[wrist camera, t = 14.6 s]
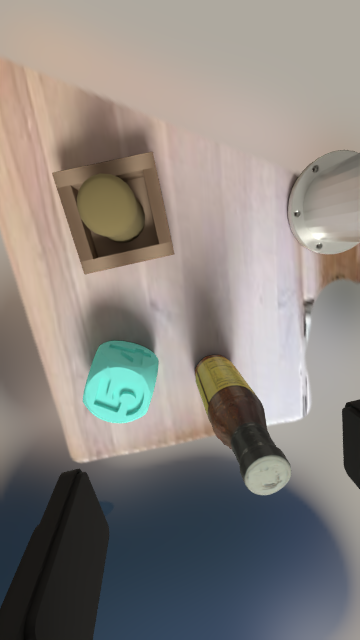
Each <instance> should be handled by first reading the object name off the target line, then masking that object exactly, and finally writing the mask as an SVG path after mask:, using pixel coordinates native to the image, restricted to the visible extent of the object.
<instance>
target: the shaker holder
mask: <svg viewBox="0 0 360 640" xmlns="http://www.w3.org/2000/svg"><path fill="white" fill-rule="evenodd" d="M52 174H53V178H54V181H55V184H56V187H57V190H58V193H59V196H60V199H61V202H62V206H63V209H64V212H65V215H66V218H67V221H68V224H69V227H70V231H71V234H72V237H73V240H74V243H75V246H76V249H77V252H78V255H79V259H80V262H81V265H82V268H83V271H84V274H89V273H93V272H98V271H102V270H107V269H111V268H115V267H120V266H124V265H129V264H133V263H138V262H142V261H147V260H151V259H156V258H160V257H165V256H169V255H173V254H174V250H173V245H172V241H171V236H170V231H169V226H168V222H167V217H166V212H165V208H164V203H163V198H162V194H161V189H160V184H159V179H158V175H157V170H156V165H155V161H154V156H153V152H148V153H144V154H139V155H134V156H129V157H125V158H120V159H115V160H111V161H106V162H101V163H96V164H92V165H87V166H82V167H78V168H73V169H68V170H63V171H59V172H54V173H52ZM97 174H112V175H114V176H116V177H119V178H121V179H122V180H123V181H124V182H125V183H127V184H128V186H129V187H130V189H131V190H132V192H133V193H134V197H135V198H136V199H137V200H138V201H139V202H140V204H141V205H142V207H143V210H144V213H145V225H144V228H143V231H142V232H141V234H140V235H139V236H138V237H137V238H136V239H134V240H133V241H130V242H127V243H117V242H115V241H112V240H110V239H109V238H107V237H106V236H102V235H99V234H96V233H94V232H93V231H92V230H90V229H89V228H88V227H87V226H86V225H85V223H84V222H83V221H82V219H81V217H80V214H79V212H78V209H77V195H78V191H79V189H80V187H81V185H82V184H83V182H84V181H85V180H87V179H88V178H89V177H91V176H93V175H97Z"/></svg>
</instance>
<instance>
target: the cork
mask: <svg viewBox="0 0 360 640" xmlns="http://www.w3.org/2000/svg"><path fill="white" fill-rule="evenodd" d="M77 209H78V212H79V214H80V217H81V219H82V221H83V222H84V223H85V225H86V226H87V227H88V228H89V229H90V230H92V231H93V232H94V233H96V234H99V235H102V236H106V237H107V238H109V239H110V240H112V241H115V242H117V243H127V242H130V241H133V240H134V239H136V238H137V237H138V236H139V235H140V234H141V232H142V231H143V228H144V225H145V213H144V210H143V207H142V205H141V204H140V202H139V201H138V200H137V199H136V198H135V197H134V193H133V192H132V190H131V189H130V187H129V186H128V184H127V183H125V182H124V181H123V180H122V179H121V178H119V177H116V176H114V175H112V174H97V175H93V176H91V177H89V178H88V179H87V180H85V181H84V182H83V184H82V185H81V187H80V189H79V191H78V195H77Z"/></svg>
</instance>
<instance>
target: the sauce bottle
mask: <svg viewBox="0 0 360 640" xmlns="http://www.w3.org/2000/svg"><path fill="white" fill-rule="evenodd" d="M195 376H196V384H197V386H198V389H199V392H200V395H201V398H202V401H203V404H204V407H205V410H206V413H207V415H208V418H209V421H210V423H211V424H212V427H213V430H214V433H215V434H216V436H217V437H218V438H219V439H220V440H221V441H222V442H223V444H224V445H227V446H229V448H230V449H232V450H233V452H234V454H235V456H236V458H237V460H238V462H239V465H240V473H241V475H242V478H243V481H244V482H245V484H246V486H247V488H248V489H249V490H250V491H252V492H253V493H256V494H259V495H269V494H272V493H274V492H277V491H278V490H280V489H281V488H282V487H284V486H285V485H286V484H287V482H288V481H289V479H290V476H291V468H290V464H289V462H288V460H287V459H286V457H285V455H284V454H283V452H282V451H281V450H280V449H279V448H277V447H276V445H275V444H274V442H273V441H272V439H271V438H270V435H269V433H268V431H267V426H266V419H265V413H264V408H263V406H262V403H261V402H260V400H259V399H258V397H257V396H256V395H255V393H254V392H253V391H252V389H251V388H250V387H249V385H248V384H247V383H246V381H245V380H244V378H243V377H242V376H241V374H240V373H239V372H238V370H237V369H236V368H235V366H234V365H233V364H232V362H230V361H229V360H228V359H226V358H225V357H223V356H221V355H210V356H206V357H204V358H203V359H202V360H201V361H200V363H199V364H198V366H197V367H196V370H195Z"/></svg>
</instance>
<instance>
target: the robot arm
mask: <svg viewBox="0 0 360 640" xmlns="http://www.w3.org/2000/svg"><path fill="white" fill-rule="evenodd" d="M312 170H313V171H312ZM294 213H295V216H294ZM288 219H289V224H290V228H291V230H292V232H293V235H294V236H295V238H296V239H297V240H298V242H299V243H300V244H301V245H302V246H304V247H305V248H307V249H308V250H310V251H312V252H315V253H319V254H336V253H341V252H344V251H346V250H349V249H351V248H352V247H354V246H355V245H357V244H358V243H359V242H360V153H357V152H355V151H349V150H340V151H334V152H331V153H328V154H325V155H324V156H322V157H320V158H318V159H316V160H315V161H314V162H312V163H311V164H310V165H309V166H307V167H306V169H304V171H303V172H302V173H301V174H300V176H299V177H298V179H297V180H296V182H295V184H294V186H293V188H292V191H291V195H290V198H289V205H288ZM316 246H317V247H316ZM342 421H343V454H344V468H345V470H346V472H347V474H348V476H349V477H350V478H351V479H352V480H353V482H354V483H355V484H356V485H357V487H358V488H359V489H360V400H356V401H351V402H348V403H346V405H345V408H343V409H342ZM108 540H109V526H108V524H107V521H106V519H105V516H104V514H103V511H102V509H101V506H100V504H99V502H98V499H97V497H96V494H95V492H94V489H93V487H92V485H91V482H90V480H89V477H88V475H87V473H86V472H83V473H82V471H81V470H80V469H76V470H72V471H68V472H64V473H62V474H61V475H60V477H59V480H58V481H57V484H56V486H55V489H54V491H53V493H52V496H51V498H50V501H49V503H48V505H47V508H46V510H45V512H44V515H43V517H42V520H41V522H40V524H39V525H38V526H37V527H36V528H35V530H34V532H33V534H32V536H31V539H30V541H29V543H28V545H27V548H26V550H25V552H24V555H23V557H22V559H21V562H20V564H19V566H18V569H17V571H16V573H15V576H14V578H13V580H12V583H11V585H10V587H9V589H8V592H7V594H6V596H5V599H4V601H3V604H2V606H1V608H0V640H93V634H94V627H95V622H96V615H97V609H98V603H99V597H100V591H101V584H102V578H103V572H104V566H105V559H106V553H107V547H108Z"/></svg>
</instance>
